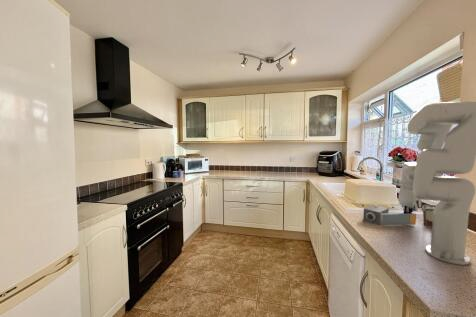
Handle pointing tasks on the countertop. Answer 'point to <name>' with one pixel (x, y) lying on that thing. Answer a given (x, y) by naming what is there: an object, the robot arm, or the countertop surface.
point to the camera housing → (374, 213)
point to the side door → (398, 219)
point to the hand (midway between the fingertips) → (407, 218)
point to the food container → (428, 214)
